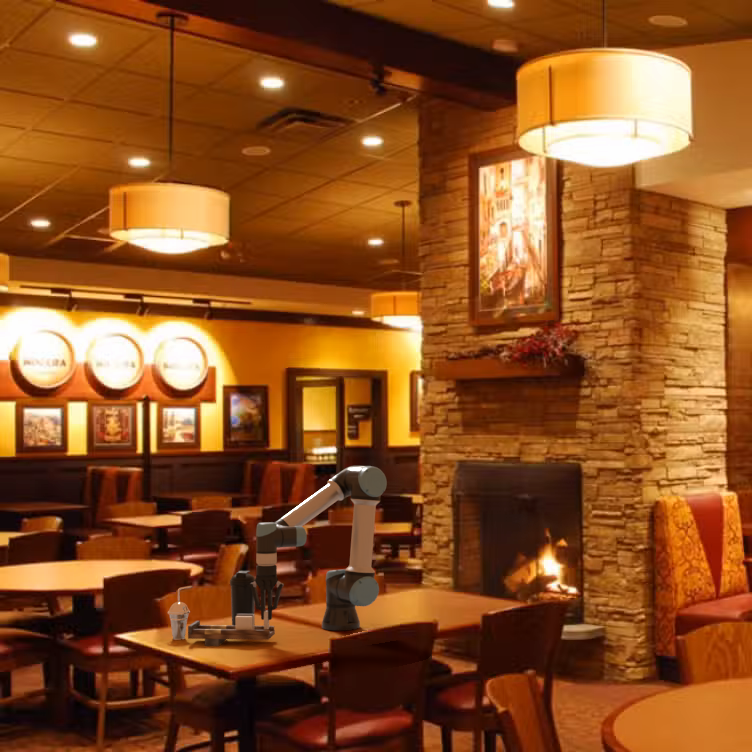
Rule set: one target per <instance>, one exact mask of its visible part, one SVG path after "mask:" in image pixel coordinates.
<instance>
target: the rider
mask: <svg viewBox="0 0 752 752" xmlns="http://www.w3.org/2000/svg"><path fill="white" fill-rule="evenodd" d="M255 615H256V614H254V615H253V614H237V616H236V617H235V629H240V630H255V626H256V624H255V623H256V622H255V619H256V617H255Z"/></svg>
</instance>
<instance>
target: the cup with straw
mask: <svg viewBox="0 0 752 752" xmlns="http://www.w3.org/2000/svg"><path fill="white" fill-rule="evenodd" d="M191 588H193V585H187V586H182V587H179V588H178V589H177V601H176V602H174V603H173V604H172V605H170V608H169V610H168V611H167V614H168V615H169V619H170V625H171V634H172V639H173V640H175V641H177V640H180V641H181V639H182V640H184V639H185V640H186V637H185V636H186V631H187V623H188V617H189V614H190V613H191V611H190V609H189V608H188V605H187V604H186V603H185V602H182V601H181V600H180V598H181V597H180V595H181V594H180V591H181V590H184V589H185V590H187V589H191Z"/></svg>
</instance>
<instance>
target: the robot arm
mask: <svg viewBox="0 0 752 752" xmlns="http://www.w3.org/2000/svg"><path fill="white" fill-rule="evenodd" d="M387 483H388V482H387V477H386V475H385V473H384V472H383V471H382V470H381V469H380V468H378V467H377V466H373V465H372V466H371V465H350V466H348V467H346V468H343V470H341V471H339V472H338V473H337V474H335V475H334V476H333V477H331V478H330V479H329V480H327V484H326V485H325V486H323V487H321V488H320V489H319V490H318V491H316V492H314V494H312V495H311V496H309V497H308V498H307V499H305V500H304V501H303V502H301V503H299V505H297V506H296V507H294V508H293V509H292V510H290V511H289V512H288V513H286V514H285V515H283V516H282V517H281V518H279V519H278V520H276V521H274V522H273V521H271V522H269V521H268V522H258V523H257V525H256V532H255V537H256V554H255V555H256V561H255V563H256V564H257V565H256V574H255V575H256V577H255V581H254V582H253V583H250V584H249V586H250V588H251V589H252V593H253V597H254V606H255V610H259V611H260V619H261V620H262V621H263V626H264V629H269V626H270V620H272V619H273V611H274V610H276V609H277V608H278V604H279V600H280V596H281V592H282V589H283V587H284V585H285V584H284V583H283V582H281V581H279V579H278V578H279V577H278V576H277V574H278V572H277V570H278V567H277V566H278V565H276V564H277V563H278V557H277V553H278V551H277V550H278V549H279V548H280V549H281V548H294V547H296V548H297V547H303V546H304V545H305V544H306V543H307V538H308V537H307V531H306V528H304V527H303V526H305V525H306V524H307V523H309V522H310V521H311V520H312V519H314V518H316V517H317V516H318V515H319V514H321V513H322V512H324V511H325V510H327V509H328V508H329V507H330V506H332V505H333V504H334V503H336V502H337V501H343V500H344V499H346V498H347V497H350V500H351V502H352V503H353V516H352V526H351V527H352V528H351V541H350V553H349V554H350V556H349V565H348V567H346V568H343V569H333V570H329V571H327V572H326V575H325V596H326V597H325V600H326V601H325V603H326V604H325V605H326V607H325V611H324V615H323V618H322V621H321V628H322V629H323V630H326V631H327V630H328V631H339V632H340V631H353V630H352V629H354V630H357V628H358V629H360V628H361V627H360V626H361V622H360V617H359V615H358V611H357V608H356V607H368V606H370V605H371V604H373V603H374V602H375V601H376V600H377V598H378V596H379V593H380V586H379V583H378V581H377V580H376V579H375V576H376V575H375V574H376V571H375V570H374V568H373V567H372V563H373V549H374V537H375V536H374V535H375V522H376V509H377V508H376V507H377V505H378V504H379V503H380V502H381V495H383V493H384V492H385V491H386V489H387V485H388V484H387ZM257 586H258V588H259V589H260V597H259V594H258V593H259V592H258V590H257ZM275 586H276V588H277V589H276V592H275V596H274V601H273V589H274V588H275ZM266 591H267V609H266ZM259 598H260V599H259Z"/></svg>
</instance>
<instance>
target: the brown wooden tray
mask: <svg viewBox="0 0 752 752" xmlns="http://www.w3.org/2000/svg"><path fill="white" fill-rule="evenodd" d="M187 632H188V633H187V639H190V640H192V639H193V640H194V639H195V640H196V639H197V640H199V639H200V640H203V639H204V646H205V647H219V646H221V645H222V644H224V642H226V641H227V640H259V641H261V640H263V641H264V640H265V641H266V640H267V641H269V640H270V639H271V638H272V637H273V636H274V635H276V634H275V633H276V631H275V625H269V629H264V625H255V630H240V629H235V625H232V624H231V625H229V624H227V625H225V624H221V625H220V624H201V620H195V621H194V622H193V623H191V624H190V625H187ZM226 639H227V640H226ZM225 640H226V641H225ZM220 644H221V645H220Z"/></svg>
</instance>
